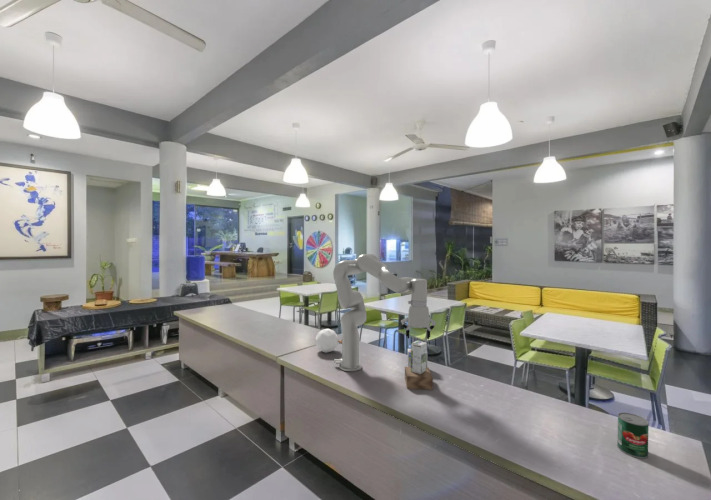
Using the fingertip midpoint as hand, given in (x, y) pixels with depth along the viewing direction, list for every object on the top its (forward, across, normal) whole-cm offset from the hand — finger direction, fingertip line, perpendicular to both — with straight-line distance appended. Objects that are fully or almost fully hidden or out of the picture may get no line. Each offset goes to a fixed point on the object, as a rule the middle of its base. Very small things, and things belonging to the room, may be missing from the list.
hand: (417, 338), depth 159 cm
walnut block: (+23, +1, 0) cm, 23 cm away
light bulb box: (+23, +3, +18) cm, 29 cm away
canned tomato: (+22, +66, -48) cm, 84 cm away
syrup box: (+17, +1, 0) cm, 17 cm away
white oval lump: (+24, -49, +43) cm, 70 cm away
